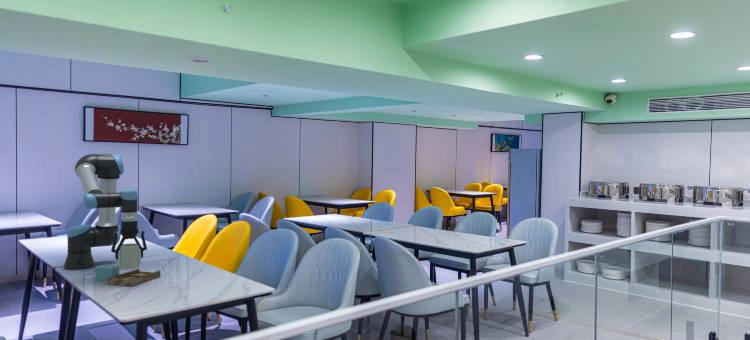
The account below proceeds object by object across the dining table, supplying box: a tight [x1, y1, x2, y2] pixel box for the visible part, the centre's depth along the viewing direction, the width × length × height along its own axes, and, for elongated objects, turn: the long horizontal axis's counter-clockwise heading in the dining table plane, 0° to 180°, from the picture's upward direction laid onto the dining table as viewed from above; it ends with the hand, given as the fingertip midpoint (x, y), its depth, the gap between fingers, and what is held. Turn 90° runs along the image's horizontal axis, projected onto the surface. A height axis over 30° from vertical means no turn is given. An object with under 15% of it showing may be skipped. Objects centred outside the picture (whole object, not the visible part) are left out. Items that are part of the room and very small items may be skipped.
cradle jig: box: [106, 268, 161, 288], centre depth 269 cm, size 14×22×3 cm, turn 166°
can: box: [119, 243, 140, 271], centre depth 265 cm, size 9×9×12 cm
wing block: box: [95, 264, 120, 283], centre depth 269 cm, size 10×5×7 cm, turn 76°
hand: (129, 264), depth 265 cm, fingers closed on can, 9 cm apart
